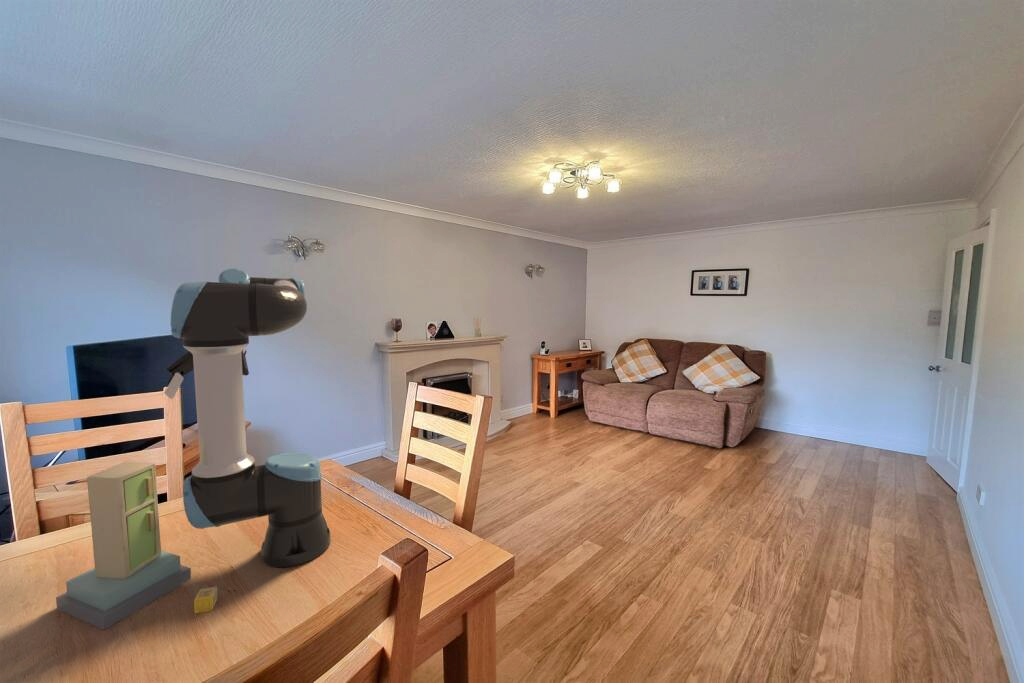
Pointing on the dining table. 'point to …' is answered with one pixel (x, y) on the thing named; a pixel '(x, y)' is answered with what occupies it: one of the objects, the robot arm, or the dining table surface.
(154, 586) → the brick stand
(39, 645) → the dining table surface
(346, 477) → the dining table surface
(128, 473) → the toy refrigerator
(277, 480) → the robot arm
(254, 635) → the dining table surface
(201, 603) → the alphabet block
